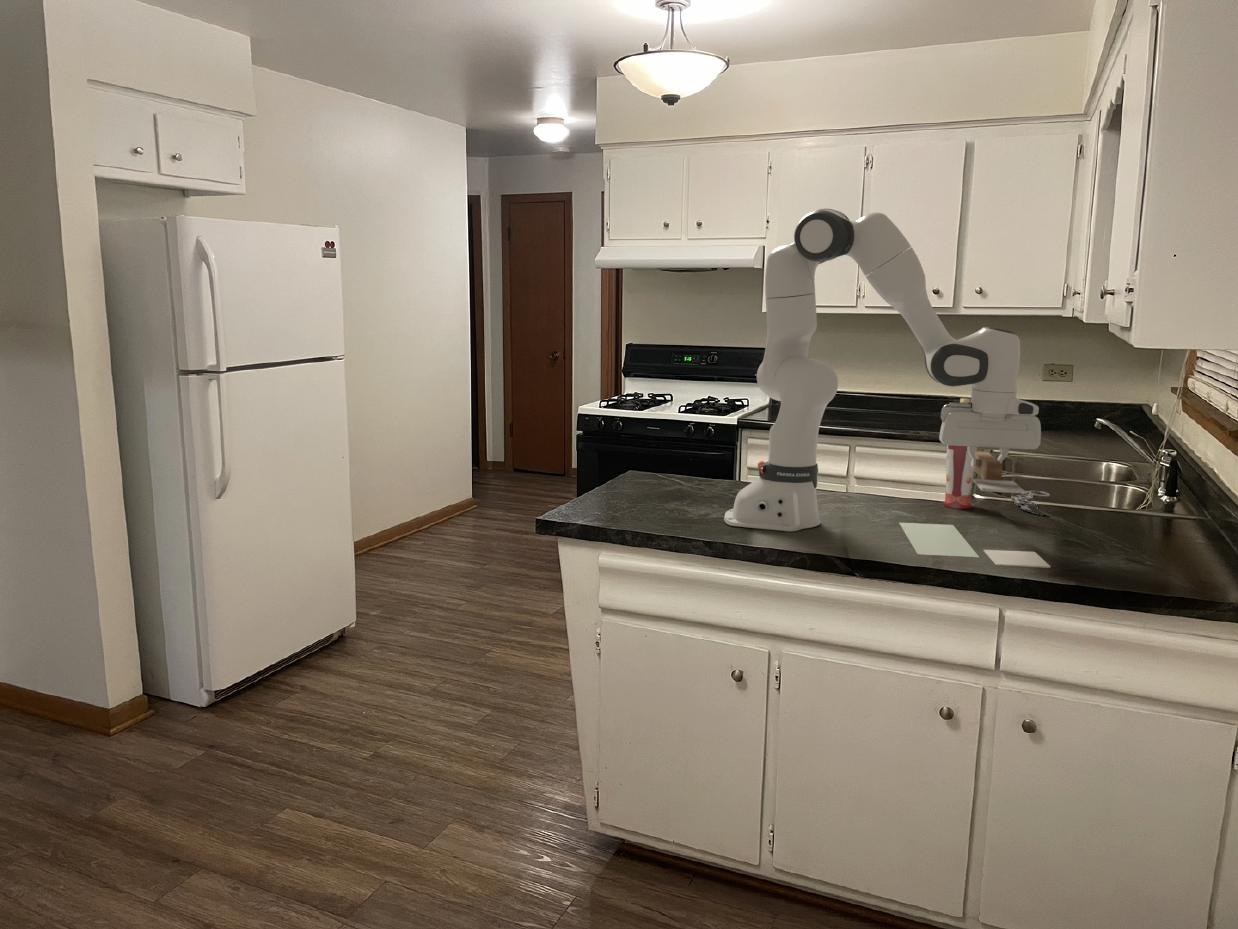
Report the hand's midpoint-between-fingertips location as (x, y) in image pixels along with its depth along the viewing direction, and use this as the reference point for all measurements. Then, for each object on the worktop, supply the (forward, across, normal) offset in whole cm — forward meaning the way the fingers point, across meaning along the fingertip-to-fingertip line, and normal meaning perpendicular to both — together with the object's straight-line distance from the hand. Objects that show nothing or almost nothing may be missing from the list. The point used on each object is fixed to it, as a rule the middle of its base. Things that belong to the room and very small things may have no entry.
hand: (986, 467), depth 194 cm
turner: (+2, 0, -4) cm, 4 cm away
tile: (+16, +3, -12) cm, 20 cm away
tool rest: (+17, -10, -4) cm, 20 cm away
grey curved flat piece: (+16, +22, +40) cm, 48 cm away
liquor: (+16, +1, +29) cm, 33 cm away
